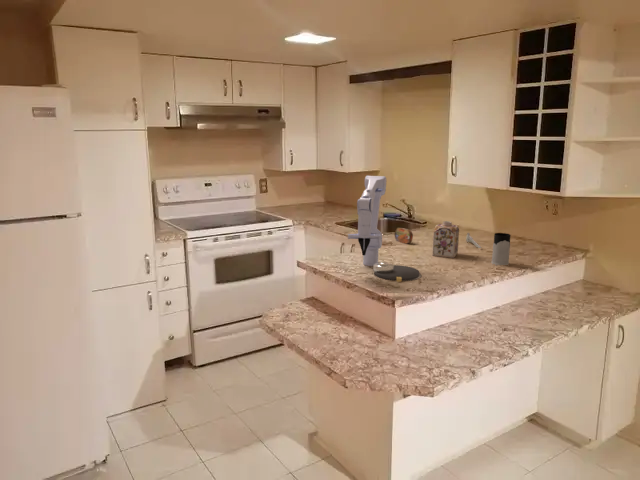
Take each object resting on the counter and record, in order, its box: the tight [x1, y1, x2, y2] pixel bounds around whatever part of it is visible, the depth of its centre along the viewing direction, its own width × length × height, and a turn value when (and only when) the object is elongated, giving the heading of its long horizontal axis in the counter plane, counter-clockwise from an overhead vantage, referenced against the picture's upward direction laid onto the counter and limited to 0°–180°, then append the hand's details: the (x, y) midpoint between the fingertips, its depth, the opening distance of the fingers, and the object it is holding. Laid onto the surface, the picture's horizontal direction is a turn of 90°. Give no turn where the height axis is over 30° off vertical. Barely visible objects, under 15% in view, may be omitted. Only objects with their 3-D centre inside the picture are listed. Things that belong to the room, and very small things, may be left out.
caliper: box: [465, 232, 482, 249], centre depth 287 cm, size 20×1×6 cm, turn 7°
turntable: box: [373, 264, 420, 283], centre depth 221 cm, size 22×20×2 cm
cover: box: [372, 261, 395, 273], centre depth 222 cm, size 9×9×4 cm
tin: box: [394, 227, 414, 245], centre depth 295 cm, size 15×3×8 cm, turn 27°
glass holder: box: [490, 232, 512, 266], centre depth 248 cm, size 9×14×15 cm, turn 179°
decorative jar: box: [431, 220, 460, 259], centre depth 263 cm, size 12×12×18 cm
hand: (363, 254), depth 222 cm, fingers closed
